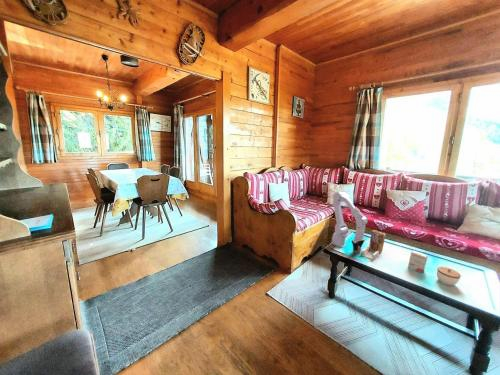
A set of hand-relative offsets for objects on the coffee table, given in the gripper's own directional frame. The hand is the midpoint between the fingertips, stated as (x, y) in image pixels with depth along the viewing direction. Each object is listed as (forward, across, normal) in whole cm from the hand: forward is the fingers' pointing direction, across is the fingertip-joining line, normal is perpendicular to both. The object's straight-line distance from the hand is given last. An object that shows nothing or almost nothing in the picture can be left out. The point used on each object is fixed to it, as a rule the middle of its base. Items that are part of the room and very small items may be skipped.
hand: (357, 248), depth 166 cm
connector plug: (+4, -2, 0) cm, 5 cm away
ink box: (+4, +13, -35) cm, 37 cm away
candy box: (+4, +18, -7) cm, 20 cm away
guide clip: (+4, +2, -4) cm, 6 cm away
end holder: (+4, +5, -8) cm, 10 cm away
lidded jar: (+4, +11, -51) cm, 52 cm away
